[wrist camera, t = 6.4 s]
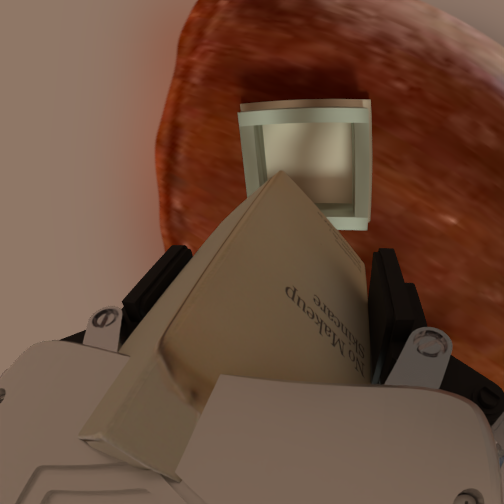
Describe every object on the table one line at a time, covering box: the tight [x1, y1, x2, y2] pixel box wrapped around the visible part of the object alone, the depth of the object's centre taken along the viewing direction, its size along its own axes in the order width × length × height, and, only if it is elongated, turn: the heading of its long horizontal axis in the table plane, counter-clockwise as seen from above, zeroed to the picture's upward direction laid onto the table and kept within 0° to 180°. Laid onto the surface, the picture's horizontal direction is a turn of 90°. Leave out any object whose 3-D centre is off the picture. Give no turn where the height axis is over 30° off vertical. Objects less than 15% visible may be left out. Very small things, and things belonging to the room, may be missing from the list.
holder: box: [238, 99, 372, 230], centre depth 26 cm, size 12×12×4 cm
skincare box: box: [78, 170, 371, 483], centre depth 9 cm, size 6×4×12 cm
